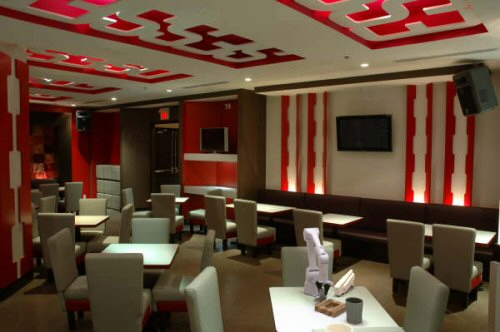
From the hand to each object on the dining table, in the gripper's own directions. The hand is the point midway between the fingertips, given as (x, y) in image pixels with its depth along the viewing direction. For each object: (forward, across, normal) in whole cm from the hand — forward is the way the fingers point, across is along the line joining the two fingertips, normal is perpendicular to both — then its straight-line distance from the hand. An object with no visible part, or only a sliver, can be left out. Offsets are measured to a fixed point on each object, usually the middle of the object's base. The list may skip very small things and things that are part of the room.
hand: (323, 294), depth 262 cm
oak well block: (+6, +10, -5) cm, 13 cm away
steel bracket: (+3, 0, -3) cm, 4 cm away
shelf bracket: (+6, -1, +28) cm, 28 cm away
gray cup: (+6, +27, -8) cm, 29 cm away
